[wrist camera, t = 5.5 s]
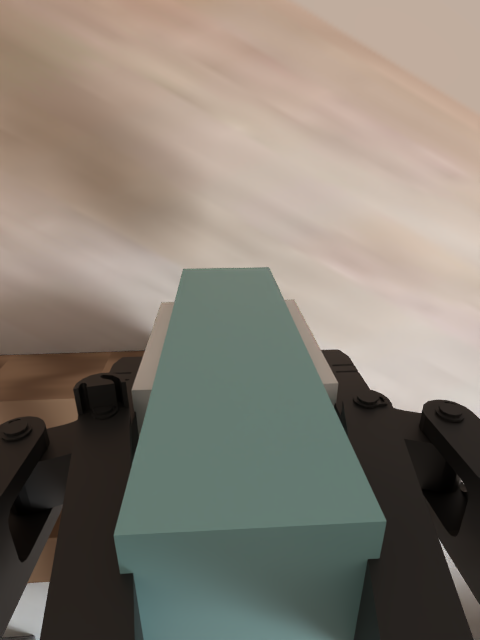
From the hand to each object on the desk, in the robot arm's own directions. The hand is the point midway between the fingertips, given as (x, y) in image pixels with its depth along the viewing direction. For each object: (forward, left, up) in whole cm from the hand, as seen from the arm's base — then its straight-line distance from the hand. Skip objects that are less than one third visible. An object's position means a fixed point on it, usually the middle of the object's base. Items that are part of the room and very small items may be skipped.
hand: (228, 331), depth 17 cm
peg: (0, 0, -3) cm, 3 cm away
